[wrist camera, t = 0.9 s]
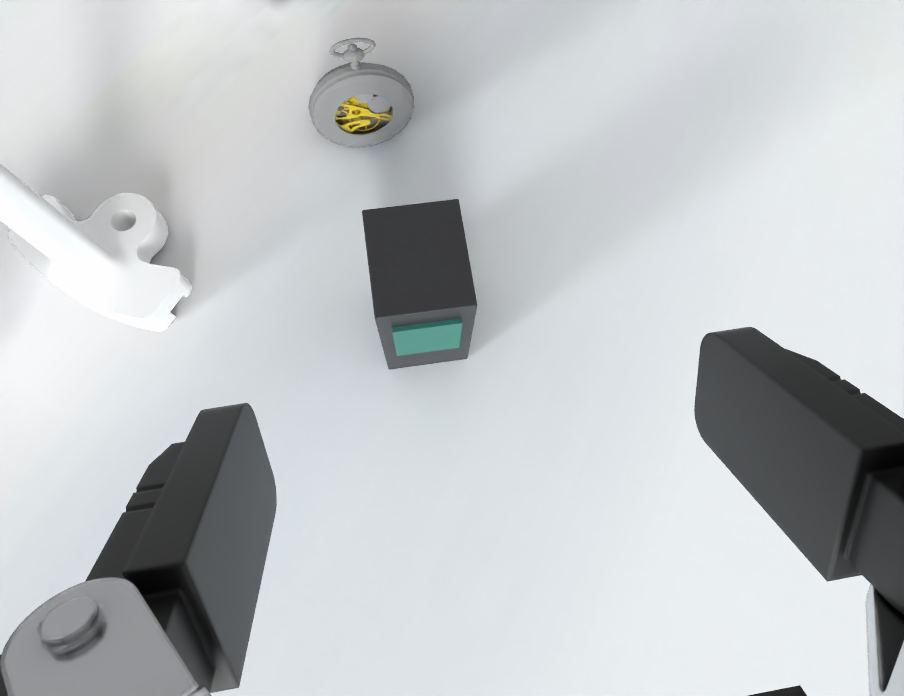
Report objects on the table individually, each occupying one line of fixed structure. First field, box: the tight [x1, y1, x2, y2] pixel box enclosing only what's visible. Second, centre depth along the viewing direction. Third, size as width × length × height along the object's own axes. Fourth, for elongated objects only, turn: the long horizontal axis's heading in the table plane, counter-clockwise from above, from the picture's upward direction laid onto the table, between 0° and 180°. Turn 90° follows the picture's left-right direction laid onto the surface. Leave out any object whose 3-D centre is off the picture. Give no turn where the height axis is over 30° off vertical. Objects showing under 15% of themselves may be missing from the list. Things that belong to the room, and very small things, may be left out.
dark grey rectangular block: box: [362, 199, 477, 369], centre depth 33 cm, size 6×5×9 cm
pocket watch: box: [309, 38, 414, 147], centre depth 37 cm, size 8×8×10 cm
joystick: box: [0, 164, 192, 331], centre depth 29 cm, size 11×8×20 cm
